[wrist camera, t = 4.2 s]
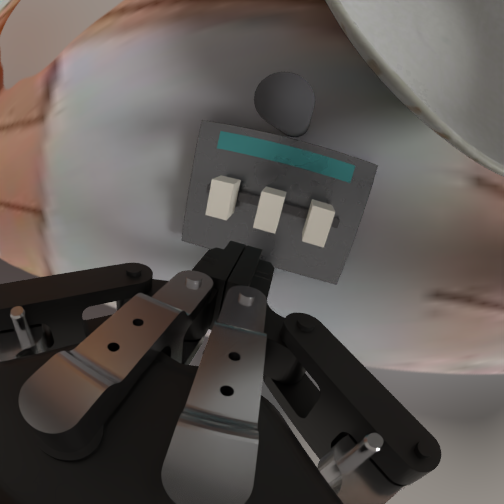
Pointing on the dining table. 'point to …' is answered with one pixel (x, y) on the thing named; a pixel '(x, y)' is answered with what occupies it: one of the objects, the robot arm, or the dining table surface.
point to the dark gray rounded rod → (285, 102)
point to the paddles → (269, 209)
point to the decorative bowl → (438, 64)
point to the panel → (282, 178)
